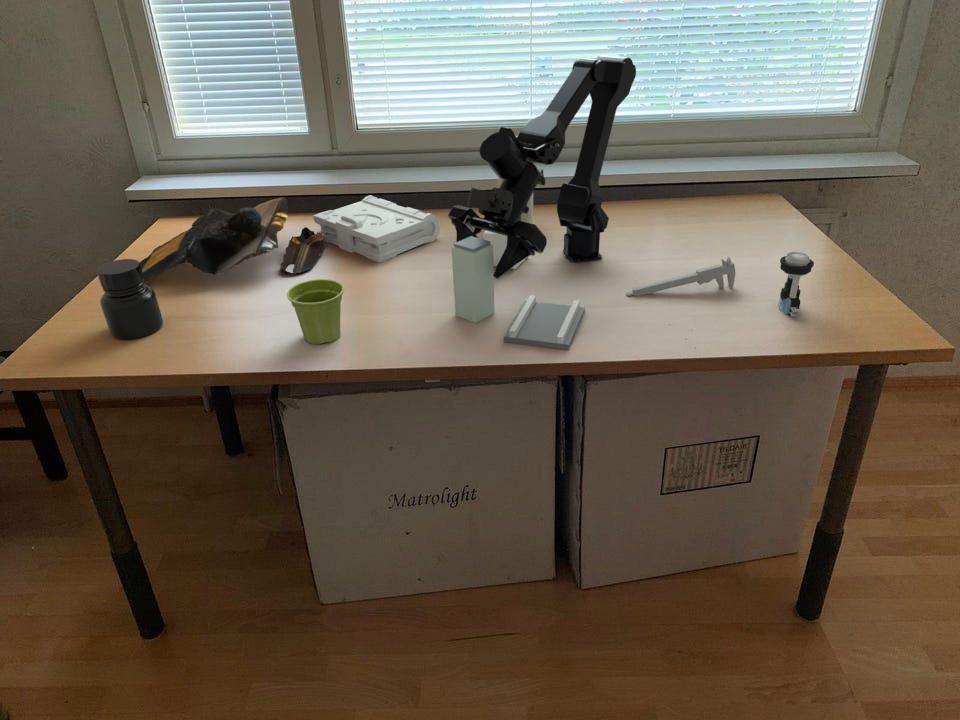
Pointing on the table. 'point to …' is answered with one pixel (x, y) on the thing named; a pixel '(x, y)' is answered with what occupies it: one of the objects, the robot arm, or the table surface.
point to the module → (473, 278)
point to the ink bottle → (128, 300)
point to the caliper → (692, 279)
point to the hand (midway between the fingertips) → (475, 270)
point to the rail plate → (545, 324)
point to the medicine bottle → (498, 246)
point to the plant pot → (318, 309)
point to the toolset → (235, 242)
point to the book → (377, 228)
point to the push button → (793, 280)
